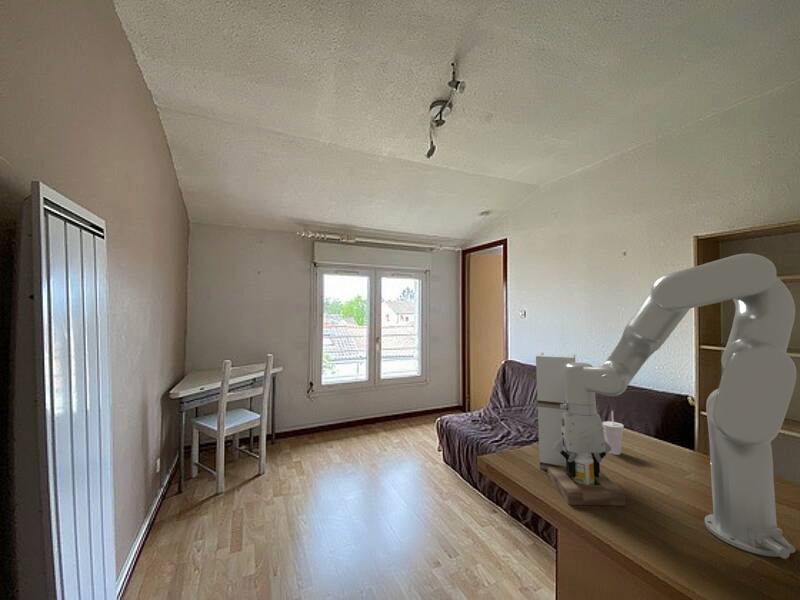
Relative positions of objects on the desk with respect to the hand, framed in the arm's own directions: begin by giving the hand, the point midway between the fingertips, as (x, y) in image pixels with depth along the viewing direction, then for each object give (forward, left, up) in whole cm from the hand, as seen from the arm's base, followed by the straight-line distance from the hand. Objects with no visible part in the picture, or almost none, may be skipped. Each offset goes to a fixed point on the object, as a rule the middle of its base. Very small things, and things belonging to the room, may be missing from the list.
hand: (583, 474), depth 91 cm
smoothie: (+25, -22, -4) cm, 34 cm away
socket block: (0, 0, -4) cm, 4 cm away
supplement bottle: (0, 0, -3) cm, 3 cm away
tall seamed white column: (+15, 0, -4) cm, 16 cm away
